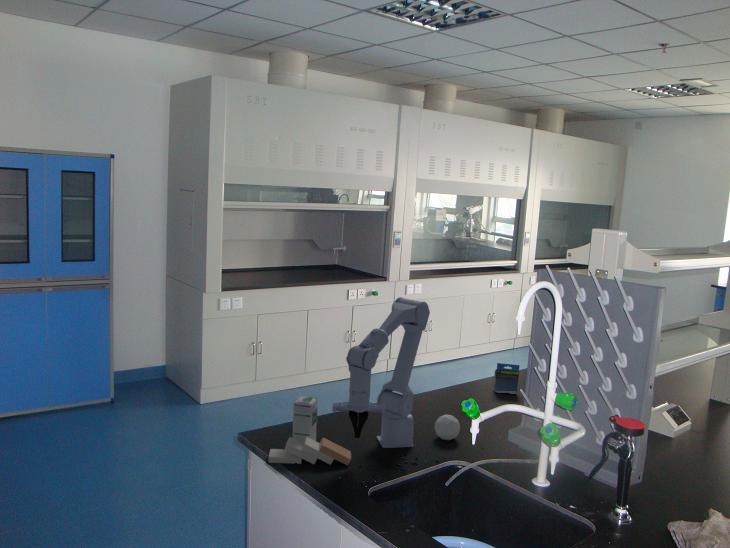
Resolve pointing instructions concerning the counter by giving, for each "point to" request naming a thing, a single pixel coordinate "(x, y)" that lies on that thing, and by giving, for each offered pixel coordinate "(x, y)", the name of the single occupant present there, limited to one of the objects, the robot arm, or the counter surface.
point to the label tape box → (506, 377)
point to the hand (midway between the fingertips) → (357, 436)
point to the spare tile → (335, 451)
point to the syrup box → (305, 418)
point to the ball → (447, 427)
